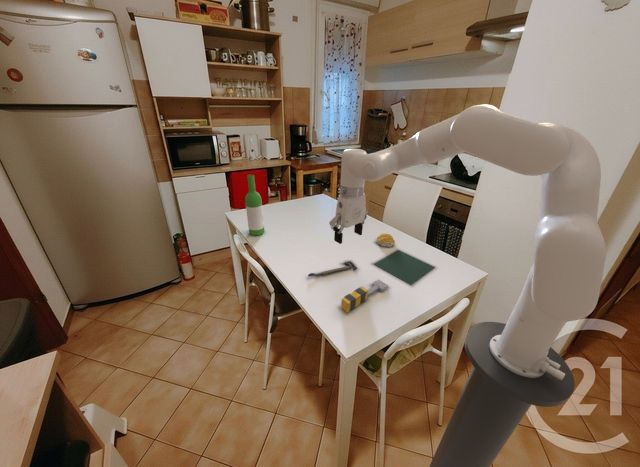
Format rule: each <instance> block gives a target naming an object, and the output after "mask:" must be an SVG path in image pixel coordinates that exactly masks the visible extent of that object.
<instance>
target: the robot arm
mask: <svg viewBox="0 0 640 467" xmlns="http://www.w3.org/2000/svg"><path fill="white" fill-rule="evenodd" d="M464 153H466V154H468V155H470V156H473V157H475V158H478V159H480V160H483V161H485V162H488V163H490V164H493V165H496V166H498V167H501V168H503V169H505V170H509V171H511V172H513V173H516V174H519V175H524V176H529V177H535V176H536V177H537V176H540V179H541V185H540V206H539V213H538V214H539V215H538V220H537V224H536V227H535V228H536V229H535V233H534V236H535V237H534V255H533V263H532V266H531V267H530V269H529V272H528V275H527V278H526V280H525V282H524V285H523V287H522V290H521V292H520V295H519V297H518V299H517V301H516V303H515V305H514V307H513V309H512V311H511V314H510V315H509V317H508V319H507V322H506V323H505V324H506V326H505V328H504V330H503V332H502V334H501V335H496V336H494V337H493V338H492V339H491V341H490V344H489V347H490V351H491V353H492V355H493V356H494V357H495V359H496V360H497V361H498V362H499V363H500V364H501V365H503V366H504V367H505V368H507V369H508V370H510V371H512V372H514V373H516V374H518V375H521V376H524V377H529V378H537V377H540V376H542V375H543V374H544V373H545V371H546V372H548V373H550V374H551V375H552V376H554V377H556V378H557V379H559V380H561V381H562V379H563V378H564V376H565V373H563V372H561V371H559V370H558V369H559V368H560V366H561V365H559V364H558V363H556V362H553V361H552V360H550V359H549V358H548V357H547V354H548V350H549V349H550V347H551V348H552V346H553V344H554V342H555V341H556V340H557V338H558V336H559V334H560V332H561V331H562V329H563V327H565V325H566V323H567V322H573V321H574V322H575V321H579V320H581V319H584V318H586V317H588V316H589V315H591V314H592V312H593V311H594V310H595V309H596V307H597V305H598V301H599V297H600V293H601V286H602V281H603V276H604V270H605V264H606V255H607V254H606V252H607V248H606V241H605V238H604V236H603V233H602V230H601V228H600V225H599V223H598V210H599V203H600V191H601V178H602V170H601V162H600V159H599V156H598V153H597V151H596V150H595V147H594V146H593V145H592V143H591V142H590V141H589V140H588V139H587V138H586V137H585V136H584V135H583V134H582V133H580V132H578V131H577V130H575V129H573V128H570V127H568V126H566V125H562V124H559V123H553V122H539V123H538V122H534V121H531V120H528V119H524V118H522V117H518V116H514V115H512V114H509V113H506V112H503V111H501V110H500V109H499V108H497V106H494V105H493V104H487V103H485V104H477V105H472V106H470V107H467V108H465V109H464V110H462V111H461V112H460V113H458V114H455V115H454V116H451V117H449V118H447V119H444V120H442V121H439V122H437V123H435V124H433V125H429V126H428V127H425V128H423V129H421V130H419V131H418V132H416V133H415V134H414V135H413V136H412V137H410V138H408V139H406V140H403V141H402V142H399V143H397V144H394V145H392V146H390V147H387V148H385V149H381V150H378V151H375V152H371V153H367V151H366V150H364V149H362V148H347V149H344V150H343V151H342V154H341V162H340V163H341V164H340V183H339V190H338V194H339V195H338V197H337V201H336V208H335V216H334V217H333V218H332V219H331V220H330V221H329V222H328V224H329V226H330V229H331V230H332V231H333V232H334V239H333V240H334V242H336V243H337V244H339V245H342V244H343V235H344V234H343V230H344V229H347V228H350V227H351V228H352V227H353V226H354V228H353V232H354V234H356V235H358V236H362V235H363V229H364V228H363V227H364V225H365V221H366V219H367V217H368V216H367V215H368V213H369V212H370V211H369V210H368V209H367V201H366V200H367V198H366V193H365V185H366V184H365V183H366V181H368V182H377V181H380V180H382V179H384V178H386V177H387V176H389V175H393V174H395V173H397V172H400V171H403V170H405V169H408V168H411V167H414V166H419V165H431V164H434V163H437V162H440V161H444V160H446V159H449V158H453V157H455V156H458V155H461V154H464ZM550 365H551V366H552V367H551V366H550ZM553 367H554V368H553Z"/></svg>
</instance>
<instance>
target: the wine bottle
mask: <svg viewBox="0 0 640 467" xmlns="http://www.w3.org/2000/svg"><path fill="white" fill-rule="evenodd" d="M247 182H248V183H247V184H248V185H247V186H248V192H247V194H246V195H245V198H244V202H245V209H246V210H245V212H246V218H247V219H246V220H247V226H248V231H249V232H248V233H249V234H250V235H251V236H261V235H263V234H264V233H265V220H264V211H263V201H262V196H261V195H260V193H259V192H257V191H256V182H255V175H254V174H248V175H247Z"/></svg>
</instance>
